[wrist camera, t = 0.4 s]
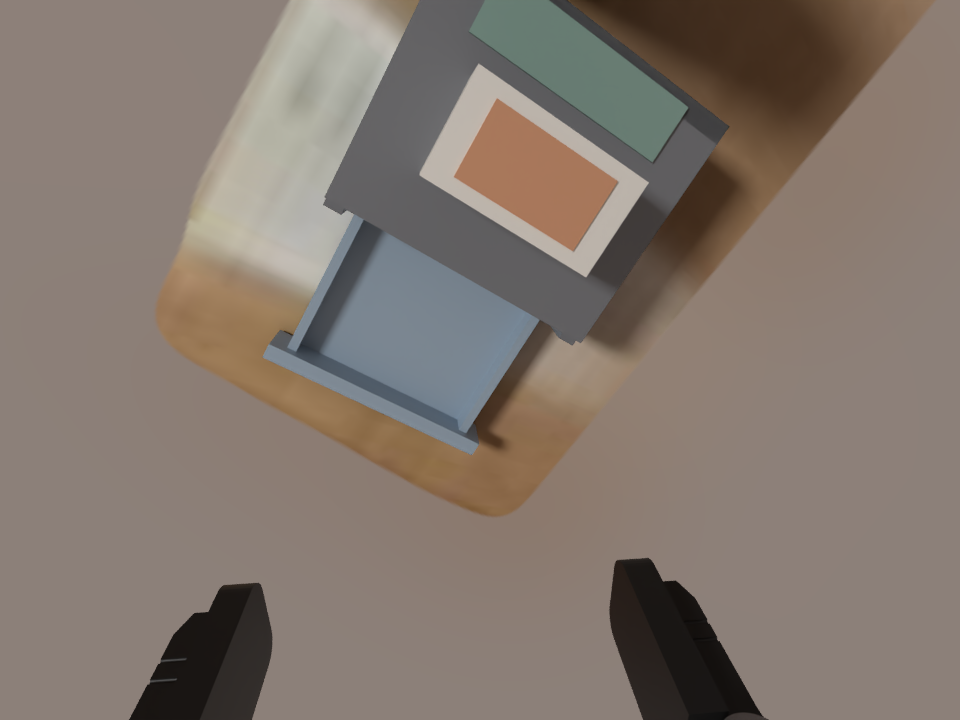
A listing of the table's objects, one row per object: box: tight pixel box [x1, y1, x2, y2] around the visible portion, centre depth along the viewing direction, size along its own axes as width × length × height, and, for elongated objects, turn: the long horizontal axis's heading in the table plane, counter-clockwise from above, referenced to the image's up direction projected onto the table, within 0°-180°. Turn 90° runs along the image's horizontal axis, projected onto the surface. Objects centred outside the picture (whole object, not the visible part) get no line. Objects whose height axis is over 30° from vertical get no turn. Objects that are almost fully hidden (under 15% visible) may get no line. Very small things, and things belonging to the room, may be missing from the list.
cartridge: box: [419, 64, 649, 277], centre depth 25 cm, size 5×9×4 cm, turn 59°
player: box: [323, 0, 729, 346], centre depth 30 cm, size 14×16×7 cm
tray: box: [263, 214, 539, 455], centre depth 35 cm, size 14×15×3 cm
